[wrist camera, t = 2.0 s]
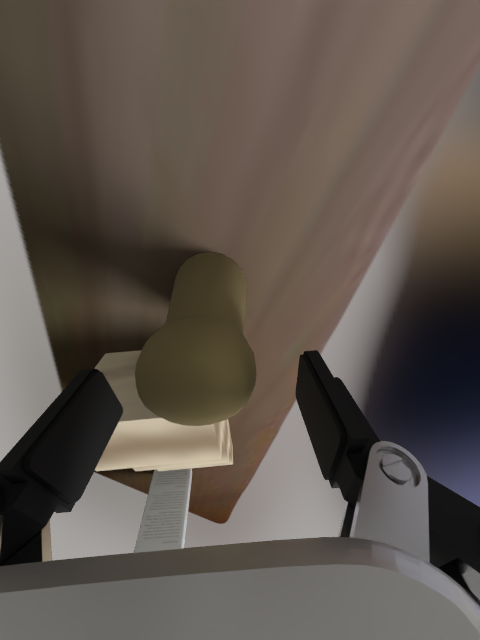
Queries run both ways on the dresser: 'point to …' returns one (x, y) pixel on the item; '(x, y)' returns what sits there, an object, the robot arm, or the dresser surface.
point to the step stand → (155, 429)
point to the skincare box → (165, 511)
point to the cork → (200, 347)
